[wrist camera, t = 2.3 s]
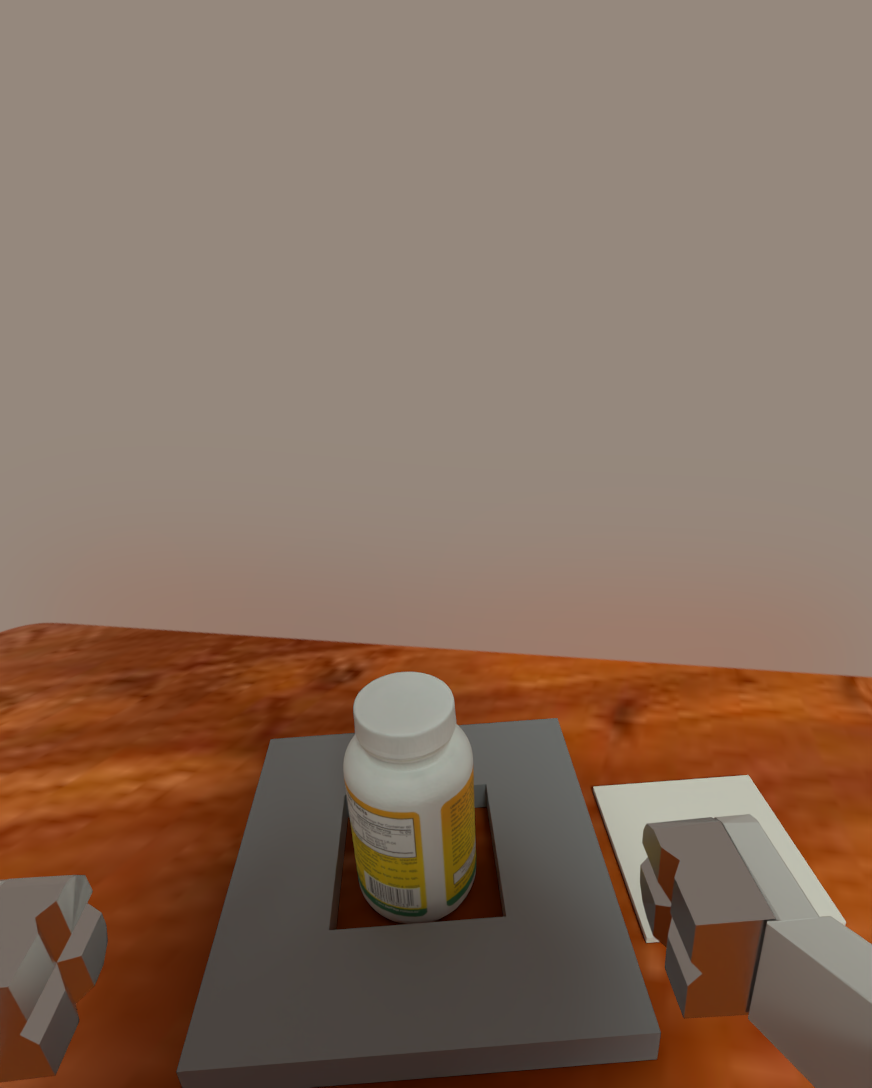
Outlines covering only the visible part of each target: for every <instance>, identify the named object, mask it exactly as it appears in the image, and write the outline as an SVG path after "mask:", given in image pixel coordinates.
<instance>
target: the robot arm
mask: <svg viewBox="0 0 872 1088" xmlns="http://www.w3.org/2000/svg"><path fill="white" fill-rule="evenodd" d="M642 844H643V846H644V849H645V851H646V854H647V856H648V857H647V858H646V860H645V861H644V862H643V863H642V864H641V865H640V887H641V895H642V902H643V906H644V910H645V913H646V917H647V920H648V923H649V926H650V929H651V932H652V934H653V936H654V937H655V938H656V939H657V940H658V941H659V942H661V943H662V944H663V945H664V946H665V947H666V948H667V949H666V960H665V970H666V972H667V975H668V978H669V980H670V983H671V986H672V988H673V991H674V994H675V996H676V999H677V1002H678V1004H679V1007H680V1010H681V1012H682V1015H683V1018H684V1019H685V1018H702V1017H718V1016H735V1015H749V1016H748V1019H749V1020H750V1021H751V1022H752V1023H753V1024H754V1025H755V1026H756V1027H757V1028H758V1029H759V1030H760V1031H761V1032H762V1033H763V1034H764V1035H765V1036H766V1037H767V1038H768V1039H769V1041H770V1042H771V1043H772V1044H773V1045H774V1046H775V1047H776V1048H777V1049H778V1050H779V1051H780V1052H781V1053H782V1054H783V1055H784V1056H785V1057H786V1058H787V1059H788V1060H789V1061H790V1062H791V1063H792V1064H793V1065H794V1066H795V1067H796V1068H797V1069H798V1070H799V1071H800V1072H801V1073H802V1074H803V1075H804V1076H805V1077H806V1078H807V1079H808V1080H809V1082H810V1083H811V1084H812V1085H813V1086H814V1087H815V1088H872V944H871V943H869V942H868V941H866V940H865V939H863V938H862V937H860V936H859V935H858V934H856V933H855V932H853V931H852V930H850V929H849V928H847V927H846V926H844V925H843V924H842V923H840V922H839V921H837V920H836V919H834V918H833V917H831V916H823V917H819V915H818V914H817V912H816V910H815V909H814V907H813V906H812V904H811V903H810V901H809V900H808V898H807V896H806V895H805V893H804V892H803V890H802V889H801V887H800V886H799V884H798V882H797V881H796V879H795V878H794V876H793V875H792V873H791V872H790V870H789V868H788V867H787V865H786V864H785V862H784V861H783V859H782V858H781V856H780V855H779V853H778V851H777V850H776V848H775V847H774V845H773V844H772V842H771V841H770V839H769V837H768V836H767V834H766V833H765V831H764V830H763V828H762V827H761V825H760V823H759V822H758V820H757V819H756V818H754V817H753V816H752V815H750V814H744V815H733V816H723V817H715V818H712V817H707V818H697V819H687V820H677V821H667V822H657V823H647V824H646V825H645V827H644V829H643V838H642ZM92 892H93V891H92V889H91V887H90V884H89V882H88V880H87V878H86V876H85V875H67V876H50V877H33V878H17V879H6V880H0V1082H7V1081H15V1080H24V1079H32V1078H40V1077H48V1076H55V1075H56V1073H57V1070H58V1068H59V1066H60V1064H61V1061H62V1059H63V1057H64V1055H65V1052H66V1050H67V1048H68V1045H69V1043H70V1041H71V1039H72V1036H73V1034H74V1032H75V1030H76V1027H77V1025H78V1023H79V1016H78V1012H77V1007H76V1003H77V1002H78V1001H79V1000H81V999H82V998H83V997H84V996H85V995H86V994H87V993H88V992H89V991H90V990H91V989H92V988H93V987H94V986H95V983H96V981H97V979H98V976H99V974H100V971H101V969H102V966H103V964H104V958H105V953H106V947H107V942H108V940H107V928H106V923H105V920H104V918H103V915H102V913H101V912H100V911H98V910H97V909H95V908H94V907H92V906H91V905H89V904H88V903H87V902H88V900H89V898H90V896H91V894H92Z"/></svg>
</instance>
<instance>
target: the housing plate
mask: <svg viewBox="0 0 872 1088" xmlns="http://www.w3.org/2000/svg"><path fill="white" fill-rule="evenodd" d="M458 726H459V727H460V728H461V729H462V730H463V732H464V733H465V735H466V736H467V738H468V740H469V742H470V745H471V748H472V754H473V771H474V808H478V807H487V810H488V817H489V824H490V831H491V838H492V844H493V851H494V858H495V865H496V872H497V878H498V885H499V892H500V899H501V906H502V912H503V917H493V918H480V919H467V920H455V921H442V922H429V923H416V924H403V925H391V926H378V927H365V928H352V929H339V930H336V927H337V917H338V908H339V898H340V889H341V879H342V870H343V860H344V851H345V841H346V832H347V822H348V817H350V816H349V810H348V803H347V795H346V788H345V781H344V772H343V763H344V756H345V752H346V749H347V747H348V745H349V743H350V741H351V739H352V738H353V736H354V735H355V733H349V734H335V735H322V736H308V737H294V738H281V739H271V740H270V744H269V747H268V751H267V754H266V758H265V761H264V765H263V768H262V772H261V776H260V779H259V783H258V786H257V790H256V793H255V797H254V800H253V804H252V807H251V811H250V814H249V818H248V821H247V825H246V828H245V832H244V835H243V839H242V842H241V846H240V849H239V853H238V857H237V860H236V864H235V867H234V871H233V874H232V878H231V881H230V885H229V888H228V892H227V895H226V899H225V902H224V906H223V909H222V913H221V916H220V920H219V923H218V927H217V930H216V934H215V938H214V941H213V945H212V948H211V952H210V955H209V959H208V962H207V966H206V969H205V973H204V976H203V980H202V983H201V987H200V990H199V994H198V997H197V1001H196V1004H195V1008H194V1011H193V1015H192V1019H191V1022H190V1026H189V1029H188V1033H187V1036H186V1040H185V1043H184V1047H183V1050H182V1054H181V1057H180V1061H179V1064H178V1068H177V1071H176V1073H177V1075H178V1078H179V1080H180V1083H181V1086H182V1088H312V1087H324V1086H337V1085H349V1084H361V1083H373V1082H385V1081H398V1080H410V1079H422V1078H434V1077H446V1076H459V1075H471V1074H483V1073H495V1072H508V1071H520V1070H532V1069H544V1068H556V1067H569V1066H581V1065H593V1064H605V1063H618V1062H630V1061H642V1060H654V1059H657V1056H658V1049H659V1042H660V1035H661V1032H660V1029H659V1026H658V1023H657V1020H656V1017H655V1013H654V1010H653V1007H652V1004H651V1001H650V998H649V995H648V992H647V989H646V986H645V983H644V980H643V977H642V974H641V971H640V968H639V965H638V962H637V959H636V956H635V953H634V950H633V947H632V944H631V941H630V938H629V935H628V931H627V928H626V925H625V922H624V919H623V916H622V913H621V910H620V907H619V904H618V901H617V898H616V895H615V892H614V889H613V886H612V883H611V880H610V877H609V874H608V871H607V868H606V865H605V862H604V859H603V856H602V853H601V849H600V846H599V843H598V840H597V837H596V834H595V831H594V828H593V825H592V822H591V819H590V816H589V813H588V810H587V807H586V804H585V801H584V798H583V795H582V792H581V789H580V786H579V783H578V780H577V777H576V774H575V771H574V767H573V764H572V761H571V758H570V755H569V752H568V749H567V746H566V743H565V740H564V737H563V734H562V731H561V728H560V725H559V722H558V719H557V718H553V719H539V720H525V721H512V722H498V723H485V724H471V725H458Z"/></svg>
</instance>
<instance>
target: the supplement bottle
mask: <svg viewBox="0 0 872 1088" xmlns="http://www.w3.org/2000/svg"><path fill="white" fill-rule="evenodd" d="M353 714H354V723H355V735H354V736H353V738H352V739H351V741H350V743H349V745H348V747H347V749H346V752H345V756H344V763H343V772H344V781H345V788H346V795H347V803H348V810H349V816H350V823H351V830H352V837H353V844H354V852H355V859H356V867H357V873H358V880H359V884H360V888H361V891H362V893H363V895H364V897H365V899H366V901H367V902H368V903H369V904H370V906H371V907H372V908H373V909H374V910H375V911H377V912H378V913H379V914H381V915H382V916H384V917H385V918H387V919H389V920H392V921H394V922H398V923H403V924H416V923H429V922H433V921H436V920H438V919H441V918H443V917H445V916H446V915H448V914H450V913H451V912H452V911H454V910H455V909H456V908H457V907H458V906H459V905H460V904H461V903H462V902H463V900H464V899H465V898H466V896H467V894H468V893H469V891H470V889H471V887H472V885H473V882H474V879H475V874H476V837H475V809H474V771H473V754H472V748H471V745H470V742H469V740H468V738H467V736H466V735H465V733H464V732H463V730H462V729H461V728H460V727H459V726H458V725H457V724H456V715H455V703H454V697H453V694H452V692H451V690H450V688H449V687H448V686H447V685H446V684H445V683H444V682H443V681H441V680H440V679H438V678H436V677H434V676H432V675H429V674H425V673H419V672H398V673H393V674H389V675H385V676H382V677H380V678H378V679H375V680H374V681H372V682H370V683H369V684H368V685H366V686H365V687H364V688H363V689H362V690H361V691H360V692H359V693H358V695H357V697H356V699H355V702H354V706H353Z"/></svg>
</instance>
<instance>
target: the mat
mask: <svg viewBox="0 0 872 1088" xmlns="http://www.w3.org/2000/svg"><path fill="white" fill-rule="evenodd" d="M593 793H594V796H595V799H596V801H597V804H598V807H599V810H600V813H601V816H602V819H603V821H604V824H605V827H606V830H607V833H608V836H609V839H610V841H611V844H612V847H613V850H614V853H615V856H616V858H617V861H618V864H619V867H620V870H621V873H622V876H623V878H624V881H625V884H626V887H627V890H628V893H629V895H630V898H631V901H632V904H633V907H634V910H635V913H636V915H637V918H638V921H639V924H640V927H641V930H642V932H643V935H644V938H645V941H646V943H652V942H659V941H658V940H657V939H656V938H655V937H654V936H653V934H652V932H651V929H650V926H649V923H648V920H647V917H646V913H645V910H644V906H643V902H642V895H641V887H640V865H641V864H642V863H643V862H644V861H645V860H646V858H647V857H648V856H647V854H646V851H645V849H644V846H643V844H642V838H643V829H644V827H645V825H646V824H647V823H657V822H667V821H677V820H687V819H697V818H707V817H712V818H715V817H723V816H733V815H744V814H750V815H752V816H753V817H754V818H756V819H757V820H758V822H759V823H760V825H761V827H762V828H763V830H764V831H765V833H766V834H767V836H768V837H769V839H770V841H771V842H772V844H773V845H774V847H775V848H776V850H777V851H778V853H779V855H780V856H781V858H782V859H783V861H784V862H785V864H786V865H787V867H788V868H789V870H790V872H791V873H792V875H793V876H794V878H795V879H796V881H797V882H798V884H799V886H800V887H801V889H802V890H803V892H804V893H805V895H806V896H807V898H808V900H809V901H810V903H811V904H812V906H813V907H814V909H815V910H816V912H817V914H818V915H819V917H823V916H831V917H833V918H834V919H836V920H837V921H839V922H840V923H842V924H843V925H844V926H845V925H846V921H845V920H844V918H843V917H842V915H841V914H840V912H839V911H838V909H837V908H836V906H835V905H834V903H833V902H832V900H831V899H830V897H829V896H828V894H827V893H826V891H825V890H824V888H823V887H822V885H821V884H820V882H819V881H818V879H817V878H816V876H815V874H814V873H813V871H812V870H811V868H810V867H809V865H808V864H807V862H806V861H805V859H804V858H803V856H802V855H801V853H800V852H799V850H798V849H797V847H796V846H795V844H794V843H793V841H792V840H791V838H790V837H789V835H788V834H787V832H786V831H785V829H784V828H783V826H782V825H781V823H780V822H779V820H778V819H777V817H776V816H775V814H774V813H773V811H772V810H771V808H770V807H769V805H768V804H767V802H766V801H765V799H764V798H763V796H762V795H761V793H760V792H759V790H758V789H757V787H756V786H755V784H754V783H753V781H752V780H751V778H750V777H749V775H742V776H728V777H715V778H702V779H689V780H675V781H662V782H649V783H635V784H622V785H609V786H596V787H593Z"/></svg>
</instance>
